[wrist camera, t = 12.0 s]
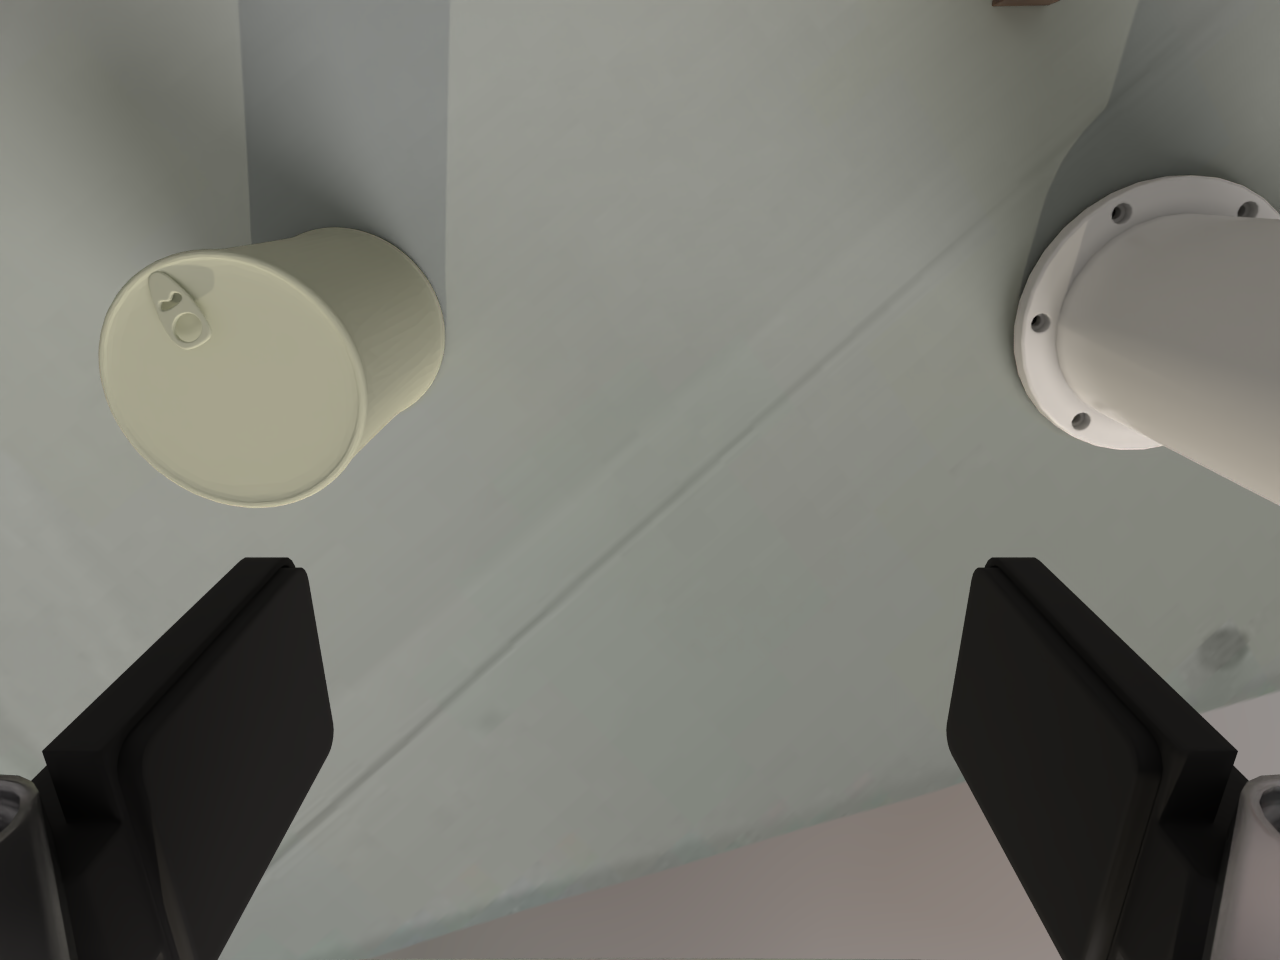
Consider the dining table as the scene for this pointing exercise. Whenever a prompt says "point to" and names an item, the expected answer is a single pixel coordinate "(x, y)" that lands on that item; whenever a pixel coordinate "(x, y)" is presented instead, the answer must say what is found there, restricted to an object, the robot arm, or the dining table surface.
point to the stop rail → (1022, 2)
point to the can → (268, 361)
